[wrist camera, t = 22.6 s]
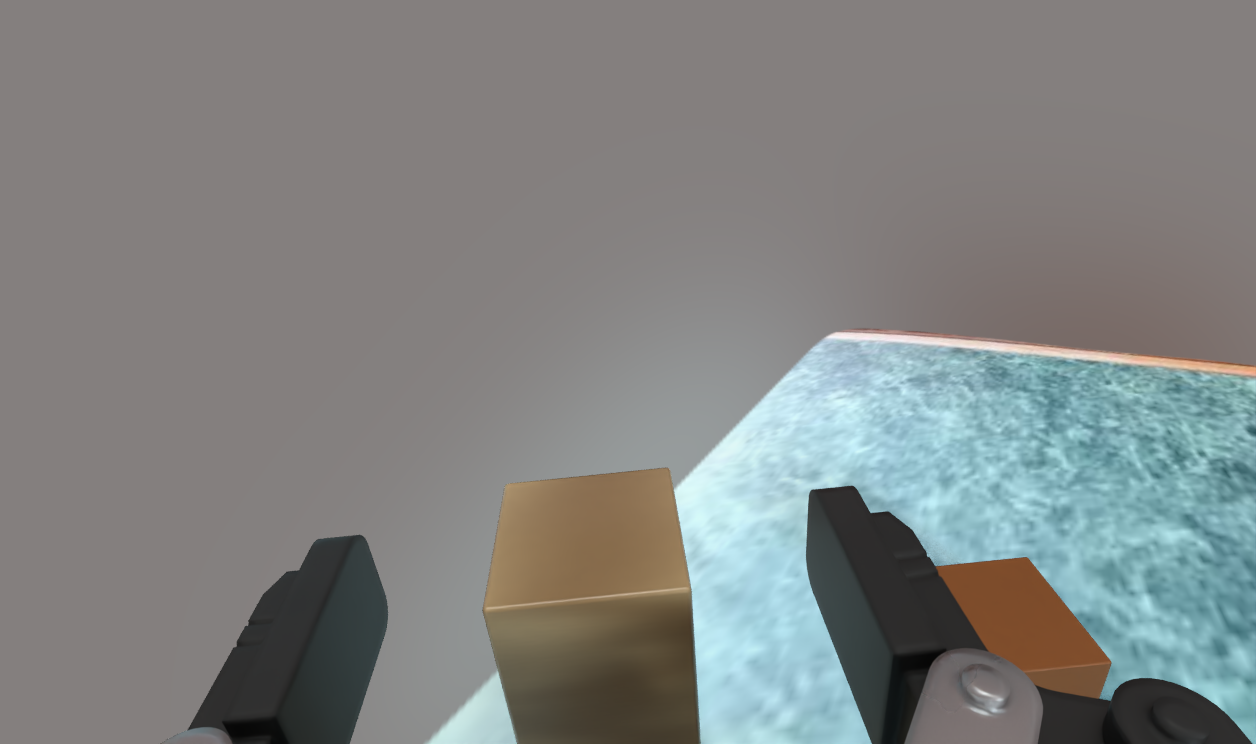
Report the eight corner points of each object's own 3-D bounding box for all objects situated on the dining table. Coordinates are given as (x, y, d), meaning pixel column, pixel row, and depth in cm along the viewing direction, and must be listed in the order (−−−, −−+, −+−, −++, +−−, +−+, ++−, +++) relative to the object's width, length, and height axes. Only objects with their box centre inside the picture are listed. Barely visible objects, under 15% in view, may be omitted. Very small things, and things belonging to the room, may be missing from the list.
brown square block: (951, 730, 21) (963, 678, 20) (894, 618, 25) (901, 569, 24) (1094, 715, 21) (1113, 662, 20) (1015, 605, 25) (1027, 556, 24)
